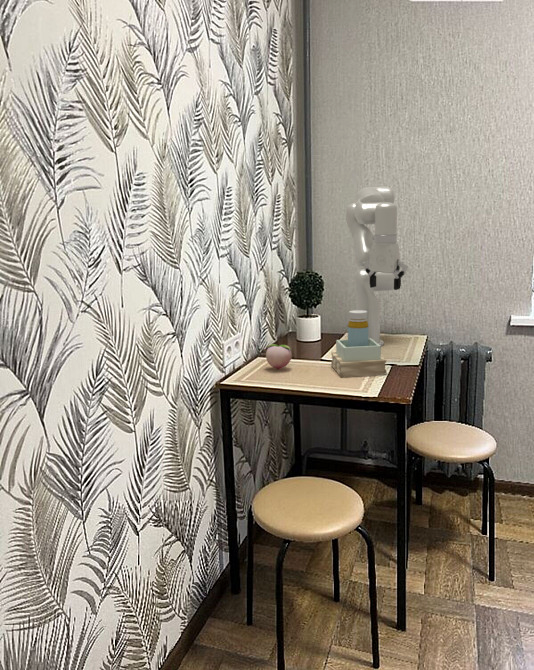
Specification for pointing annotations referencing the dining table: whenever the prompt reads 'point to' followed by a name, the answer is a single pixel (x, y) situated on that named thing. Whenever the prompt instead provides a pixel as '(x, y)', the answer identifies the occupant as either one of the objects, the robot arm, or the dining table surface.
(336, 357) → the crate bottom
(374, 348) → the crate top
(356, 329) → the bottle
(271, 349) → the decorative fruit
